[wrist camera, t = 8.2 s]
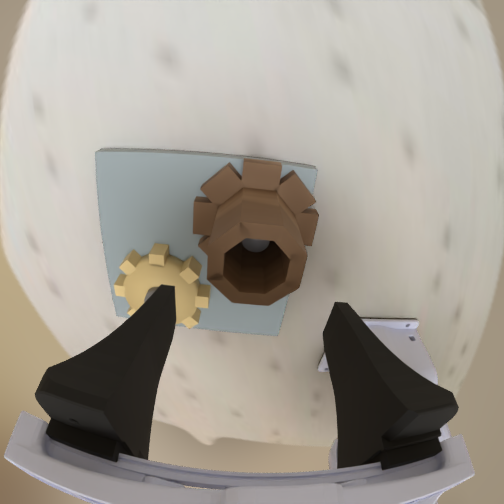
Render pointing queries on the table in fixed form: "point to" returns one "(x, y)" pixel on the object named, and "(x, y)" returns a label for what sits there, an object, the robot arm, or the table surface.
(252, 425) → the table surface
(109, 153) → the carrier plate
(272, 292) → the gear
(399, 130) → the table surface
